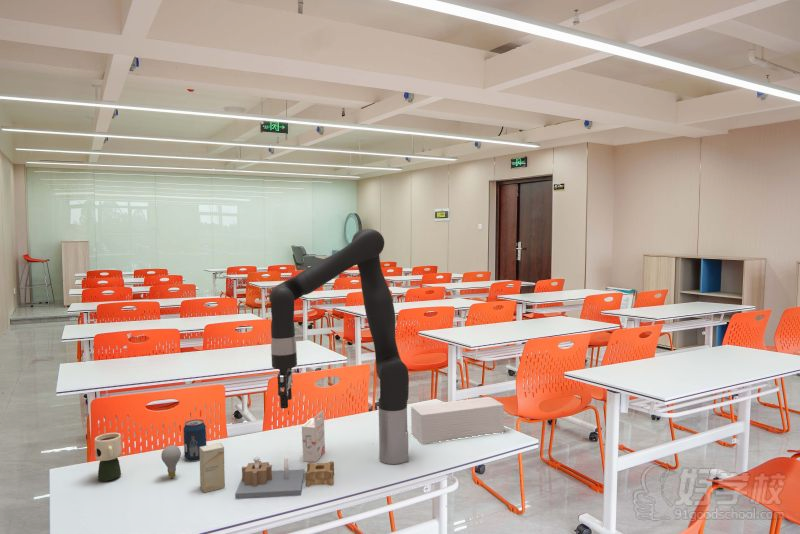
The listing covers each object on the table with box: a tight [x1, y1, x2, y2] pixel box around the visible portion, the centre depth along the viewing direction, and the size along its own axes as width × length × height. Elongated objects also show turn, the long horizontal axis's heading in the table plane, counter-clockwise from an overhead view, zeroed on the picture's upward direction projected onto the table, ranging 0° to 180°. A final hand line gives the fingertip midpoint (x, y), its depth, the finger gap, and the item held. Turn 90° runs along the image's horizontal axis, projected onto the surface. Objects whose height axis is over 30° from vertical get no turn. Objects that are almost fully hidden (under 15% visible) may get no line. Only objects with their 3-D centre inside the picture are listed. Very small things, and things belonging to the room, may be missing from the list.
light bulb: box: [160, 444, 182, 479], centre depth 169 cm, size 6×5×10 cm
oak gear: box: [304, 460, 335, 488], centre depth 166 cm, size 8×8×4 cm
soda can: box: [183, 419, 207, 462], centre depth 184 cm, size 7×7×12 cm
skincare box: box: [199, 442, 226, 493], centre depth 162 cm, size 6×4×12 cm
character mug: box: [94, 432, 123, 482], centre depth 169 cm, size 11×7×13 cm, turn 34°
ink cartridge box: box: [301, 409, 326, 463], centre depth 183 cm, size 9×5×15 cm, turn 168°
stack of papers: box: [410, 396, 505, 445], centre depth 203 cm, size 32×11×11 cm, turn 109°
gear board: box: [234, 456, 306, 500], centre depth 163 cm, size 18×14×8 cm
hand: (286, 403), depth 171 cm, fingers open, 8 cm apart
